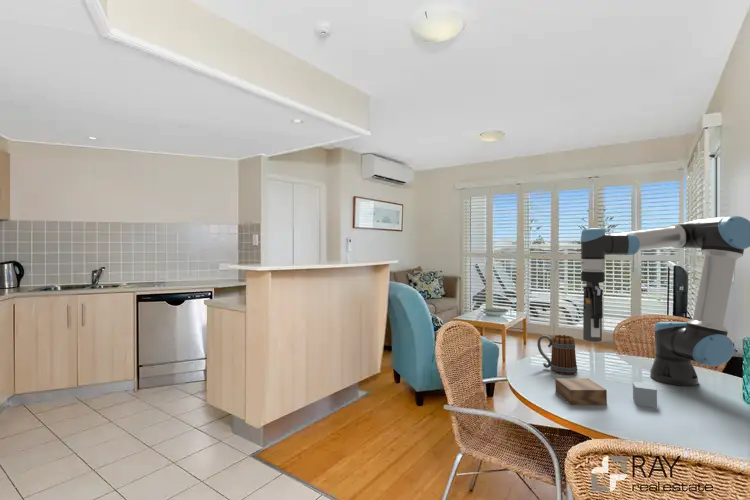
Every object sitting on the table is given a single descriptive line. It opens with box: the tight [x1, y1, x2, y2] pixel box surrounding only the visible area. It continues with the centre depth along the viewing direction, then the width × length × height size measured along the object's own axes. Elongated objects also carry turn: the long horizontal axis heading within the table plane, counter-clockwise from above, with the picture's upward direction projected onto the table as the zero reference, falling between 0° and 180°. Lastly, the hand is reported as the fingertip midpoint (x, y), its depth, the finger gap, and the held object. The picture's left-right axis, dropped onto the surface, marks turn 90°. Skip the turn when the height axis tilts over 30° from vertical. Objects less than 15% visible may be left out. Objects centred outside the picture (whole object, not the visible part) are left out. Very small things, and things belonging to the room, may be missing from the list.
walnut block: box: [554, 377, 608, 406], centre depth 138 cm, size 12×12×5 cm
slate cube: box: [632, 381, 658, 409], centre depth 133 cm, size 6×6×6 cm
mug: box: [536, 334, 578, 376], centre depth 169 cm, size 16×11×15 cm
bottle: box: [582, 298, 603, 343], centre depth 141 cm, size 6×6×15 cm
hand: (592, 334), depth 141 cm, fingers closed on bottle, 6 cm apart
